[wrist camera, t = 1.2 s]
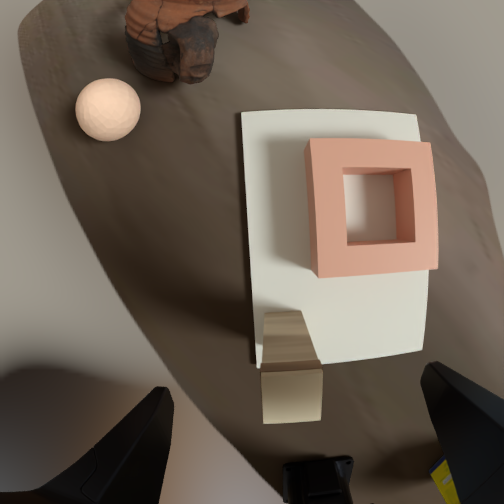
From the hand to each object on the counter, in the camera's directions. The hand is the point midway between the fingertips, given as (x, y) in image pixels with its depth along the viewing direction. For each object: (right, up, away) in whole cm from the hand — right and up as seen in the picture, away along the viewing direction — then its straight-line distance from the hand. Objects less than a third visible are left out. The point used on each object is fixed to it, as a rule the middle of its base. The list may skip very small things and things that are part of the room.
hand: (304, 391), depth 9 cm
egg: (-11, +15, +11) cm, 22 cm away
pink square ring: (+6, +7, +10) cm, 14 cm away
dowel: (+1, -1, +11) cm, 11 cm away
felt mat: (+5, +5, +11) cm, 13 cm away
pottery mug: (-6, +21, +11) cm, 24 cm away
